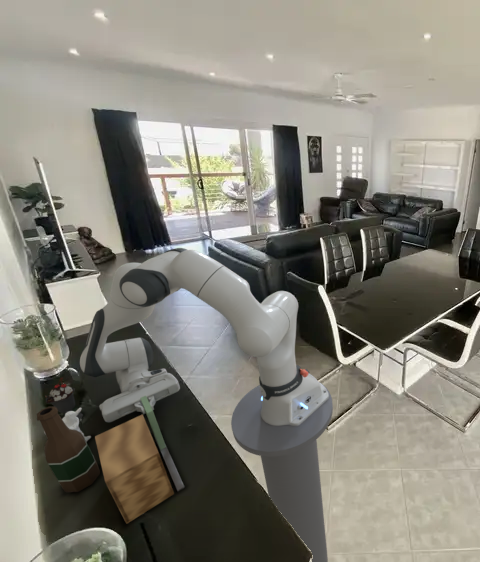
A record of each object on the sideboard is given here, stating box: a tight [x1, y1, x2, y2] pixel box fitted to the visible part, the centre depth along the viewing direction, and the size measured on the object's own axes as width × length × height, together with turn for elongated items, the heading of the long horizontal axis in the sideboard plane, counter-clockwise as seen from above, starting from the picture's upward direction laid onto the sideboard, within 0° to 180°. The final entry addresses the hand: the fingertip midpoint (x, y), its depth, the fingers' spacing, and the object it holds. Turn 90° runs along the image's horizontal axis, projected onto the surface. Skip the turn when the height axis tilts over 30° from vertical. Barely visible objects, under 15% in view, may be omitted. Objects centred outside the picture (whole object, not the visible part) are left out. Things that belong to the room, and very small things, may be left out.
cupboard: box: [94, 413, 185, 525], centre depth 83 cm, size 12×24×15 cm, turn 45°
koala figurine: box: [43, 407, 92, 443], centre depth 91 cm, size 8×7×12 cm
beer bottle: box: [36, 406, 101, 493], centre depth 80 cm, size 8×8×24 cm
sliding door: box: [140, 396, 167, 451], centre depth 92 cm, size 2×8×14 cm, turn 45°
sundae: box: [44, 377, 84, 421], centre depth 100 cm, size 7×7×15 cm
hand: (148, 410), depth 97 cm, fingers closed
